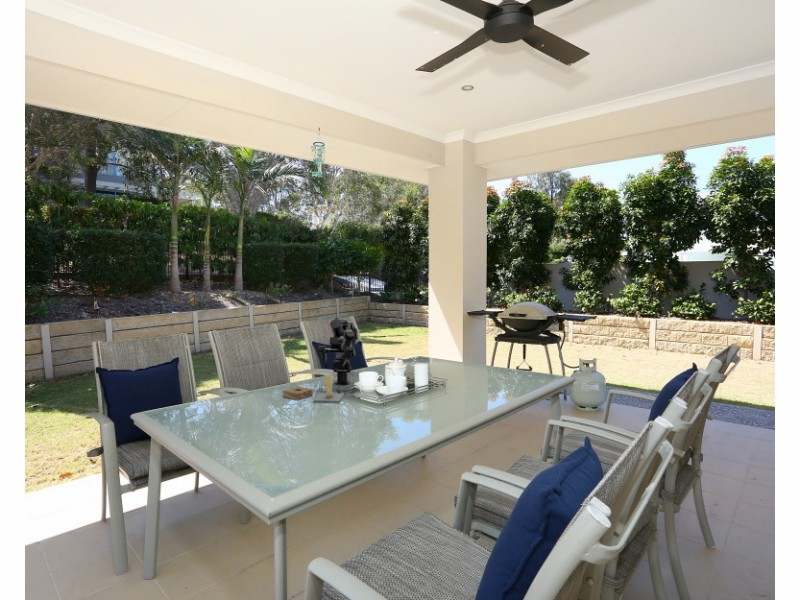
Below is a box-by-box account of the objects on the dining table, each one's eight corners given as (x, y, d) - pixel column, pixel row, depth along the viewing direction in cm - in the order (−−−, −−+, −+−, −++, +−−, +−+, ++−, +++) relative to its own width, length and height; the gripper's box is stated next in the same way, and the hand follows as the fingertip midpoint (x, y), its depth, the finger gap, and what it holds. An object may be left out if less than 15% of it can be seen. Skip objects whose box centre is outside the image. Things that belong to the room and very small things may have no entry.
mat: (320, 395, 225) (320, 393, 225) (344, 395, 224) (344, 393, 224) (313, 402, 213) (313, 400, 213) (339, 403, 212) (339, 400, 212)
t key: (327, 395, 221) (327, 374, 220) (333, 395, 221) (332, 374, 220) (325, 398, 216) (325, 377, 215) (330, 398, 216) (330, 377, 215)
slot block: (298, 392, 230) (298, 386, 230) (312, 395, 224) (312, 389, 224) (283, 396, 222) (282, 390, 222) (297, 400, 216) (297, 394, 216)
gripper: (317, 330, 234) (312, 356, 224) (354, 330, 233) (350, 356, 222) (321, 343, 242) (316, 368, 232) (356, 343, 241) (353, 369, 231)
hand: (333, 365), depth 229 cm, fingers open, 9 cm apart
